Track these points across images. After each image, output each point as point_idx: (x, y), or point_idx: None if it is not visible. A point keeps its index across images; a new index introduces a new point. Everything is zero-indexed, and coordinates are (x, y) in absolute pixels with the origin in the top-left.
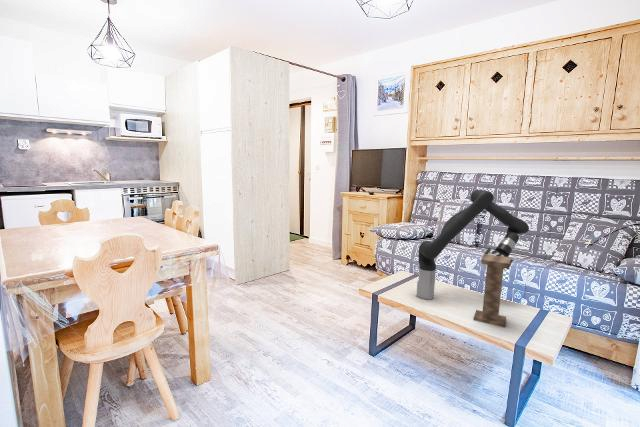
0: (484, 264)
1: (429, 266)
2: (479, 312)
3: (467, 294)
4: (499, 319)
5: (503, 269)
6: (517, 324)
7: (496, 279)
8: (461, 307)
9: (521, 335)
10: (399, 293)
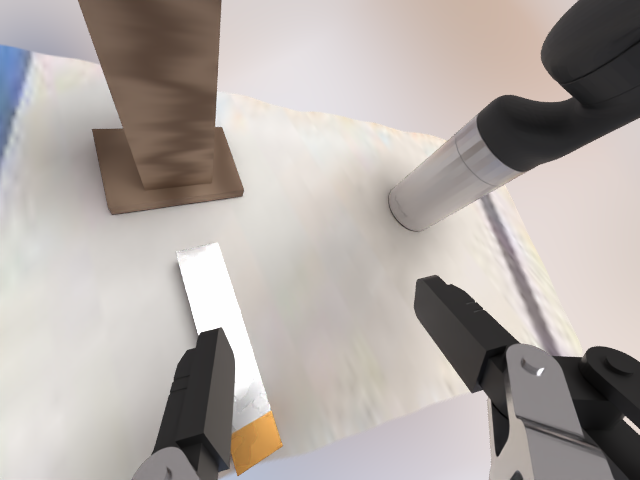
0: (416, 304)
1: (500, 97)
2: (223, 174)
3: (360, 362)
4: (129, 159)
5: (172, 405)
6: (46, 202)
7: None
8: (300, 207)
9: (12, 112)
10: None
